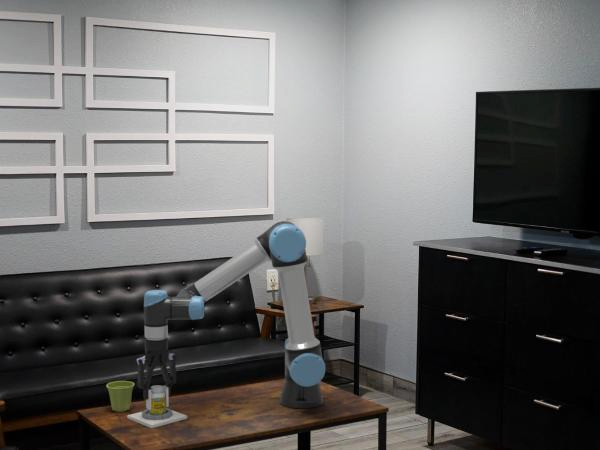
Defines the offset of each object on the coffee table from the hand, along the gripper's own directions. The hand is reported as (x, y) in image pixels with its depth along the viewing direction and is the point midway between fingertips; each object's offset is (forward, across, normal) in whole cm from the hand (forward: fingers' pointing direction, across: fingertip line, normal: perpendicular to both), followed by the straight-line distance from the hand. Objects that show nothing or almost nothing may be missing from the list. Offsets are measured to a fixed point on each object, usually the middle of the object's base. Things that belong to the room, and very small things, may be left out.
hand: (157, 407), depth 292 cm
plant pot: (+4, +7, -16) cm, 18 cm away
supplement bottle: (+3, 0, 0) cm, 3 cm away
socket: (+4, 0, 0) cm, 4 cm away
